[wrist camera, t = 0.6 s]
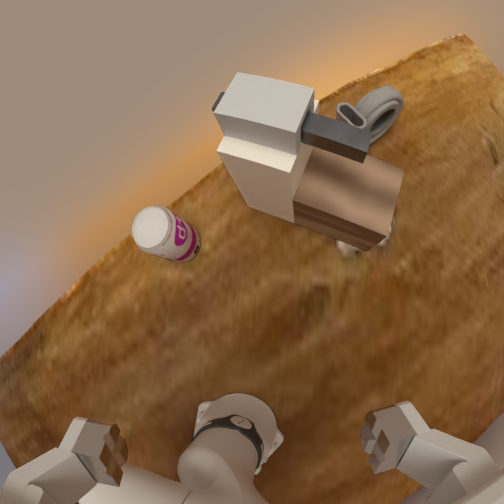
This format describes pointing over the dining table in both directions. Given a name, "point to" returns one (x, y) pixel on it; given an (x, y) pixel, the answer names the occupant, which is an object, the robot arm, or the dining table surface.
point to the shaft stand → (265, 140)
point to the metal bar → (331, 135)
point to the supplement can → (165, 234)
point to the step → (347, 198)
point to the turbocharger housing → (373, 111)
